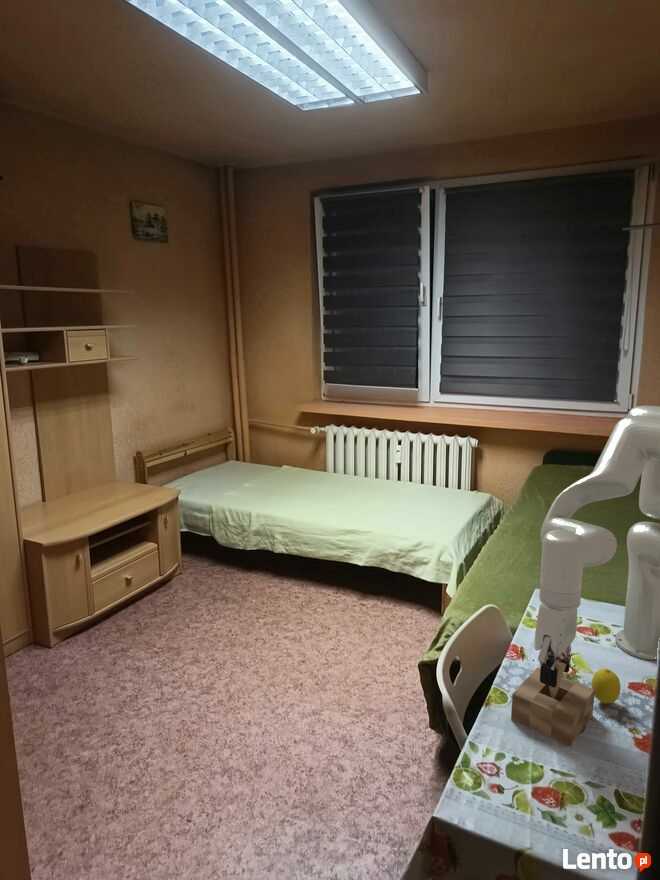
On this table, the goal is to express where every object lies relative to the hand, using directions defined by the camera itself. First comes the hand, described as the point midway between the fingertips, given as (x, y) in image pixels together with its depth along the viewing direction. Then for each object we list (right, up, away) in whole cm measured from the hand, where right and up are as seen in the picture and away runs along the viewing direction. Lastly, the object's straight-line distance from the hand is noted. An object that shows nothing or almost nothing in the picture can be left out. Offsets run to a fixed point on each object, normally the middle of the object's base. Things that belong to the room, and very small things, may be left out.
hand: (554, 676), depth 121 cm
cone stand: (0, -9, +2) cm, 10 cm away
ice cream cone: (0, -7, +1) cm, 7 cm away
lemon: (+13, -8, +6) cm, 17 cm away
